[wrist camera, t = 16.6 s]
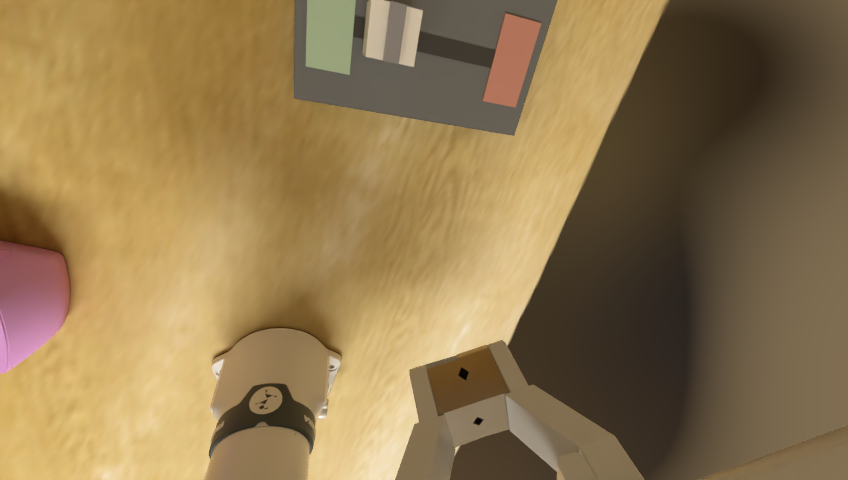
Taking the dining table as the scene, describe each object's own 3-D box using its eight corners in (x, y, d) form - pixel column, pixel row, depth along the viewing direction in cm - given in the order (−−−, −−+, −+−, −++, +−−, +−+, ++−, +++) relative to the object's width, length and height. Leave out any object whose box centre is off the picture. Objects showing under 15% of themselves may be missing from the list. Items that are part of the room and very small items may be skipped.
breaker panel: (503, 129, 42) (514, 136, 39) (297, 93, 35) (293, 98, 32) (544, -8, 35) (561, -11, 32) (299, -84, 28) (295, -97, 26)
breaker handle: (404, 62, 32) (415, 67, 27) (362, 53, 31) (366, 57, 26) (411, 13, 30) (425, 9, 25) (367, 2, 29) (372, -5, 24)
